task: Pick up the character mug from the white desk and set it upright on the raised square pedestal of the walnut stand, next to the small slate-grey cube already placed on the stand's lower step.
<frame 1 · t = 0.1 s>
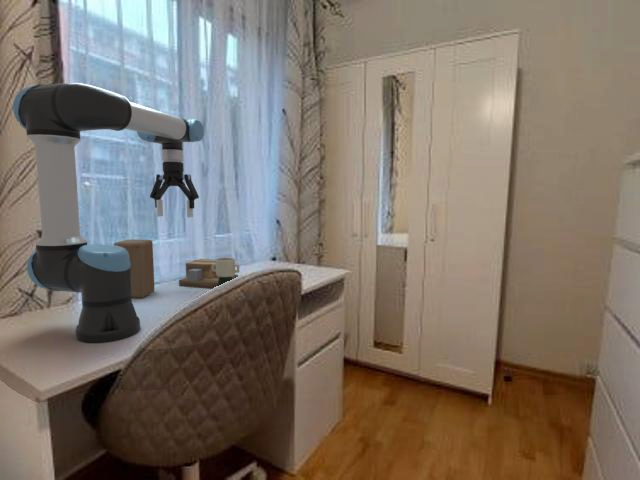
hand: (174, 216, 151), 28 cm above the table, tool pointing down, fingers open, 13 cm apart
walnut stand: (209, 283, 160), on the table
wooden block: (136, 295, 141), on the table
grey cube: (195, 279, 155), point 2 cm above the table, touching walnut stand
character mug: (226, 293, 145), on the table
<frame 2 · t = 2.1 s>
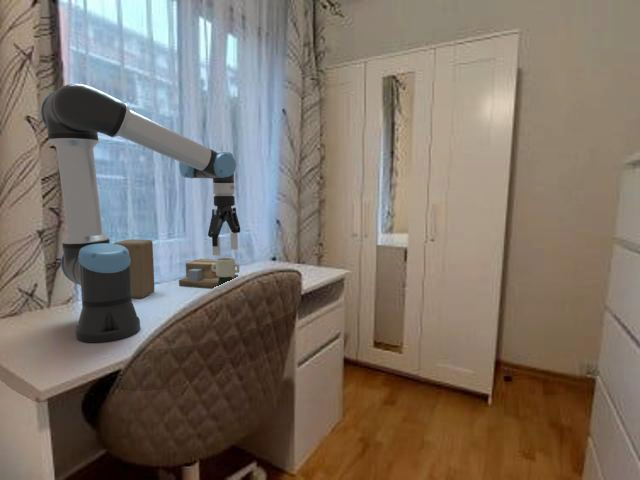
hand: (225, 252, 144), 15 cm above the table, tool pointing down, fingers open, 13 cm apart
nothing on the table moved.
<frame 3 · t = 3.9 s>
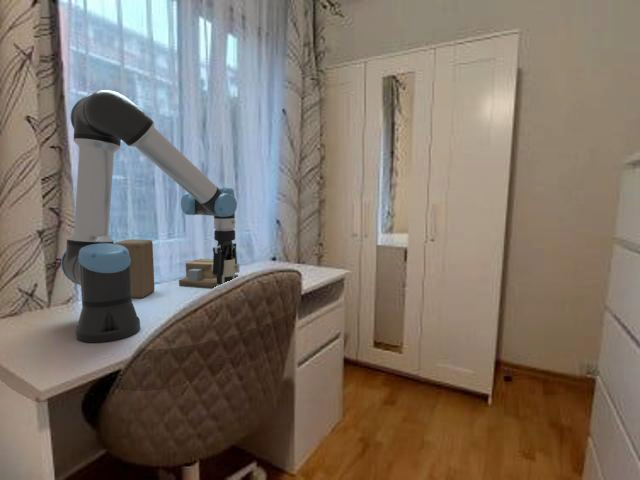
hand: (226, 289, 145), 1 cm above the table, tool pointing down, fingers closed on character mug, 7 cm apart
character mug: (226, 293, 145), on the table, touching gripper
everything else where it was.
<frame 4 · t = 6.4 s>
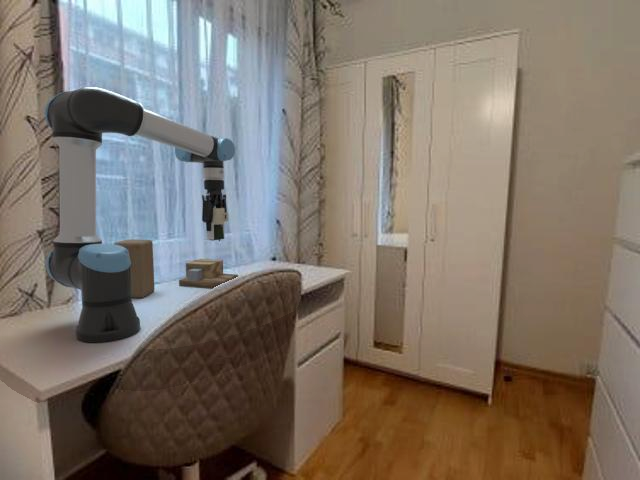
hand: (215, 238, 152), 20 cm above the table, tool pointing down, fingers closed on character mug, 7 cm apart
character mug: (216, 241, 152), point 18 cm above the table, touching gripper
everything else where it was.
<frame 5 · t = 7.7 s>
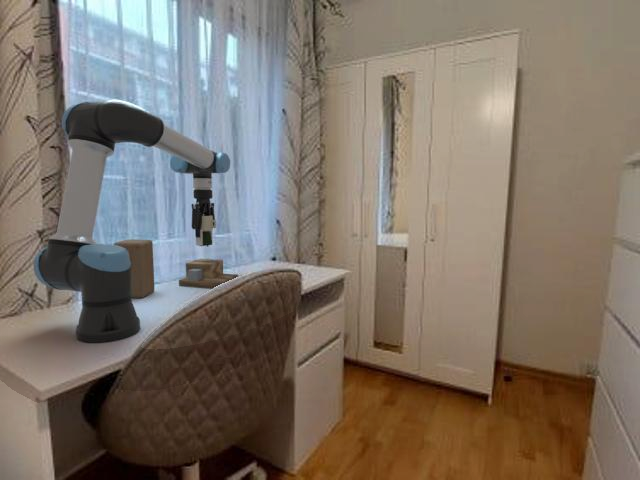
hand: (204, 243, 162), 16 cm above the table, tool pointing down, fingers closed on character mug, 7 cm apart
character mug: (204, 246, 162), point 15 cm above the table, touching gripper
everything else where it was.
when the fingers open (11 cm above the table, at t = 8.9 s): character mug drops 1 cm, resting on walnut stand.
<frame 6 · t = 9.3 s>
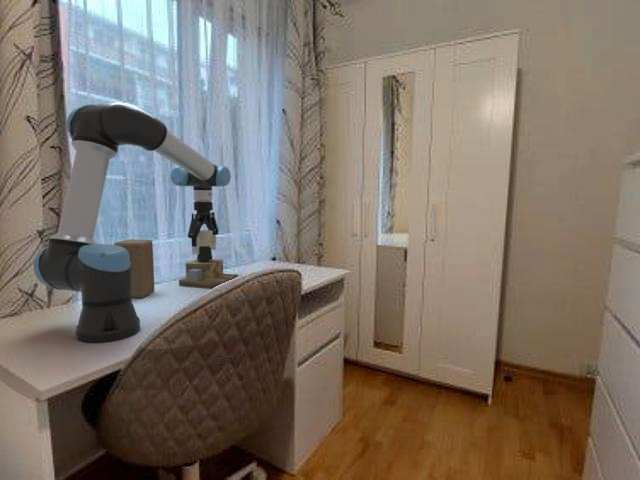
hand: (204, 251, 162), 13 cm above the table, tool pointing down, fingers open, 13 cm apart
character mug: (204, 261, 162), point 8 cm above the table, touching walnut stand
everything else where it was.
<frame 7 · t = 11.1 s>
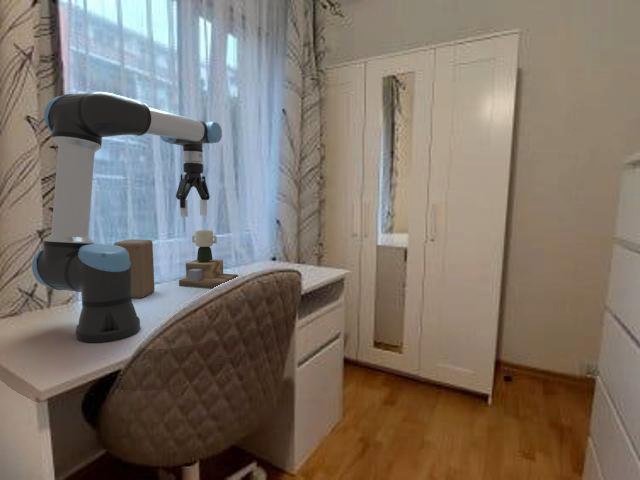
hand: (194, 216, 156), 28 cm above the table, tool pointing down, fingers open, 13 cm apart
nothing on the table moved.
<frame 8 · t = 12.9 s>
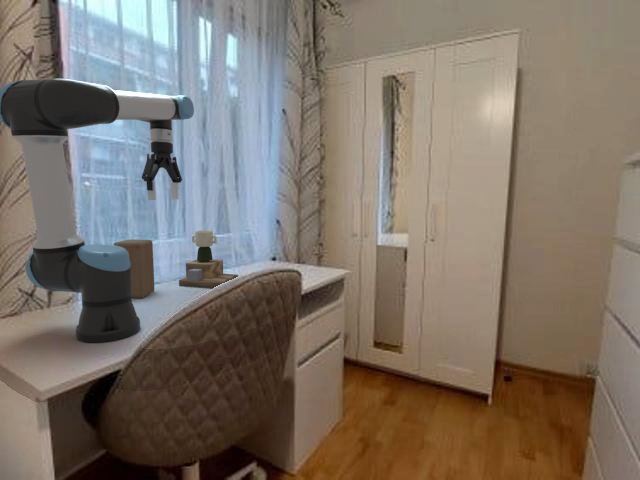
hand: (164, 199, 145), 35 cm above the table, tool pointing down, fingers open, 13 cm apart
nothing on the table moved.
at the end: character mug inside the target area (0.1 cm from its centre), point 8.3 cm above the table; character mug tilted 0°; the gripper is holding nothing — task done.
